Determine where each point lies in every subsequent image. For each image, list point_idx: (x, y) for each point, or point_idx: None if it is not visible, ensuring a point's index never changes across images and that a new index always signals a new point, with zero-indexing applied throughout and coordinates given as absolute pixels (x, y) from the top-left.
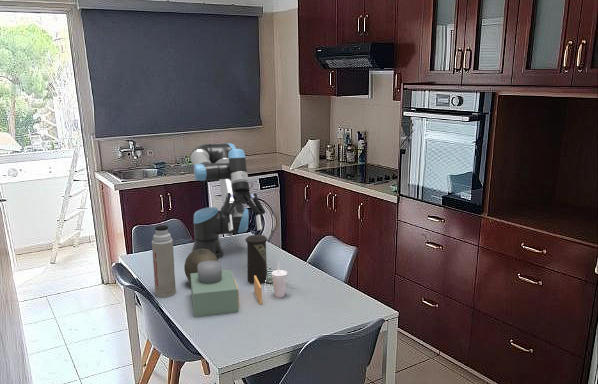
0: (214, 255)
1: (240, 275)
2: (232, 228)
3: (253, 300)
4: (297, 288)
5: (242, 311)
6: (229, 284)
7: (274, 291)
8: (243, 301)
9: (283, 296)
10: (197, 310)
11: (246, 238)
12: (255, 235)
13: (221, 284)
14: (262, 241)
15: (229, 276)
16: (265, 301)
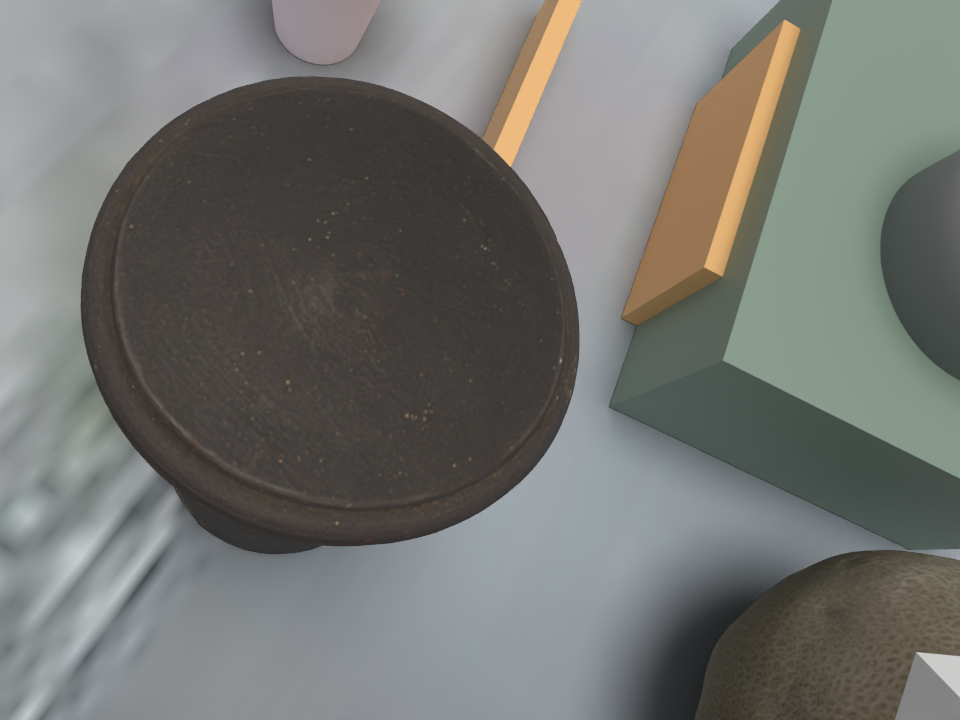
0: (879, 693)
1: (341, 703)
2: (950, 667)
3: (553, 112)
4: (66, 12)
5: (706, 34)
6: (876, 49)
7: (366, 28)
8: (626, 153)
9: None
10: None
11: (552, 412)
12: (320, 374)
13: (932, 100)
14: (344, 80)
15: (808, 202)
16: (485, 31)
